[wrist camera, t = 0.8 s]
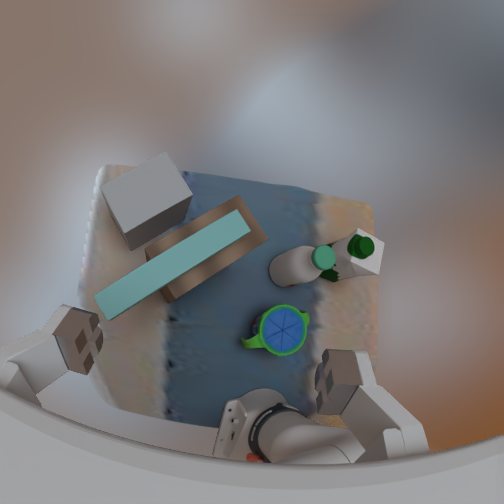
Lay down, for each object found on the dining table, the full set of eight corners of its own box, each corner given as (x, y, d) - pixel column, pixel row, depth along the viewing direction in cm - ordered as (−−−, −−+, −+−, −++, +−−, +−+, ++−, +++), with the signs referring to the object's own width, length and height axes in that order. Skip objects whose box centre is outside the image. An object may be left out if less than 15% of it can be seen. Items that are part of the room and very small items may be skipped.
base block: (131, 251, 64) (124, 233, 49) (110, 213, 64) (99, 186, 49) (184, 219, 69) (192, 194, 54) (162, 184, 69) (166, 151, 54)
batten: (111, 320, 37) (107, 320, 34) (98, 297, 37) (93, 296, 34) (243, 236, 45) (250, 230, 42) (230, 216, 45) (236, 209, 42)
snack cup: (290, 297, 74) (310, 294, 64) (301, 338, 73) (322, 341, 63) (228, 315, 68) (241, 316, 59) (241, 360, 67) (255, 367, 58)
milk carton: (315, 242, 79) (362, 221, 60) (343, 255, 80) (393, 239, 62) (306, 274, 76) (353, 261, 57) (336, 287, 78) (387, 277, 59)
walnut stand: (168, 303, 65) (175, 299, 41) (148, 272, 65) (144, 248, 40) (227, 265, 70) (268, 239, 46) (209, 235, 70) (238, 194, 46)
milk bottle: (268, 287, 72) (308, 278, 54) (267, 254, 74) (306, 235, 55) (298, 287, 75) (344, 277, 56) (296, 255, 76) (341, 237, 57)
